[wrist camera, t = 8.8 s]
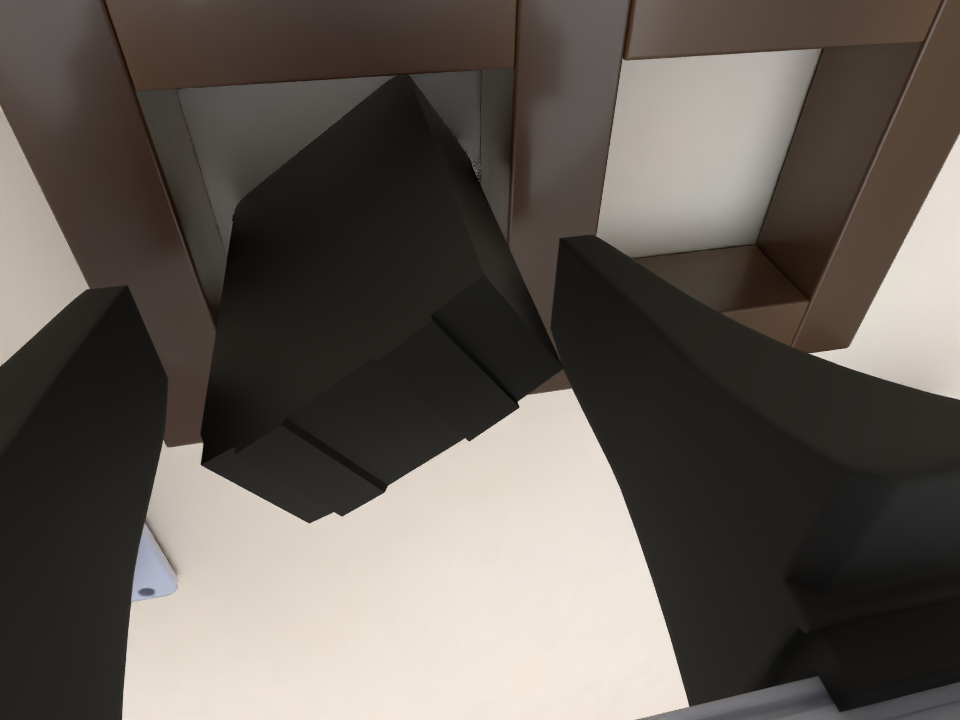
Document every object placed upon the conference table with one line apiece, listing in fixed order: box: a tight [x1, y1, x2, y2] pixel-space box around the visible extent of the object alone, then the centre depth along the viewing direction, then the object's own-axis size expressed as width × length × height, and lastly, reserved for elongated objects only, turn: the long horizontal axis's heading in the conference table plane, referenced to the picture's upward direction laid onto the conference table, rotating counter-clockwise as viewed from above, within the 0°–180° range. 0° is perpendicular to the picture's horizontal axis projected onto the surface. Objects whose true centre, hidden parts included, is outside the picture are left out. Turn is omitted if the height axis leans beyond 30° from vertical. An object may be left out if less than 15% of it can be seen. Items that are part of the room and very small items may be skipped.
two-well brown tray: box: [0, 0, 960, 447], centre depth 14 cm, size 18×10×3 cm, turn 89°
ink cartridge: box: [200, 75, 564, 523], centre depth 12 cm, size 5×2×8 cm, turn 122°
